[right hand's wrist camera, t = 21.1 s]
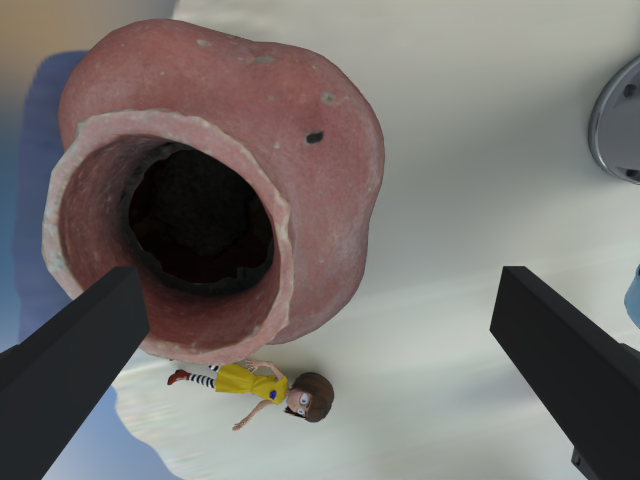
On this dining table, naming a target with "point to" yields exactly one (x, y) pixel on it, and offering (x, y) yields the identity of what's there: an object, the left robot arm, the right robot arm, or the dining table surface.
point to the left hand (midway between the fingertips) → (593, 401)
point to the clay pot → (214, 186)
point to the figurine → (269, 389)
